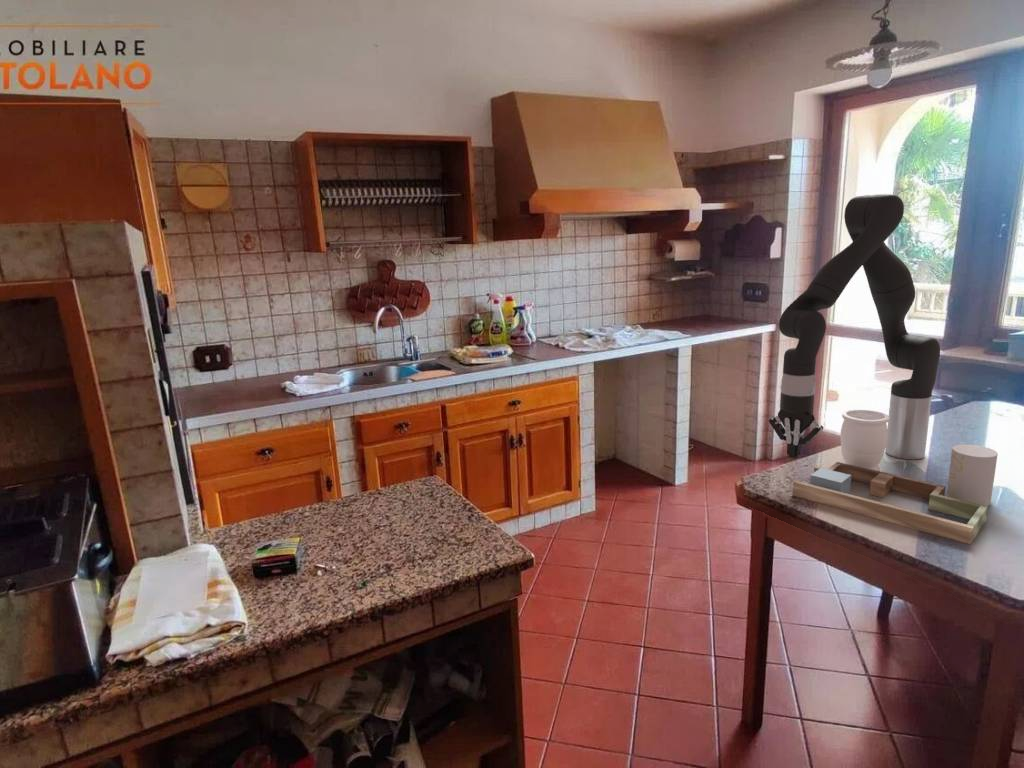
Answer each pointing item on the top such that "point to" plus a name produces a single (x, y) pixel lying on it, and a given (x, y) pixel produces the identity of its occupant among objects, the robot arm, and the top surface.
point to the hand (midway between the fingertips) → (793, 457)
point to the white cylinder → (972, 473)
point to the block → (831, 480)
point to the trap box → (901, 516)
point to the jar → (864, 438)
